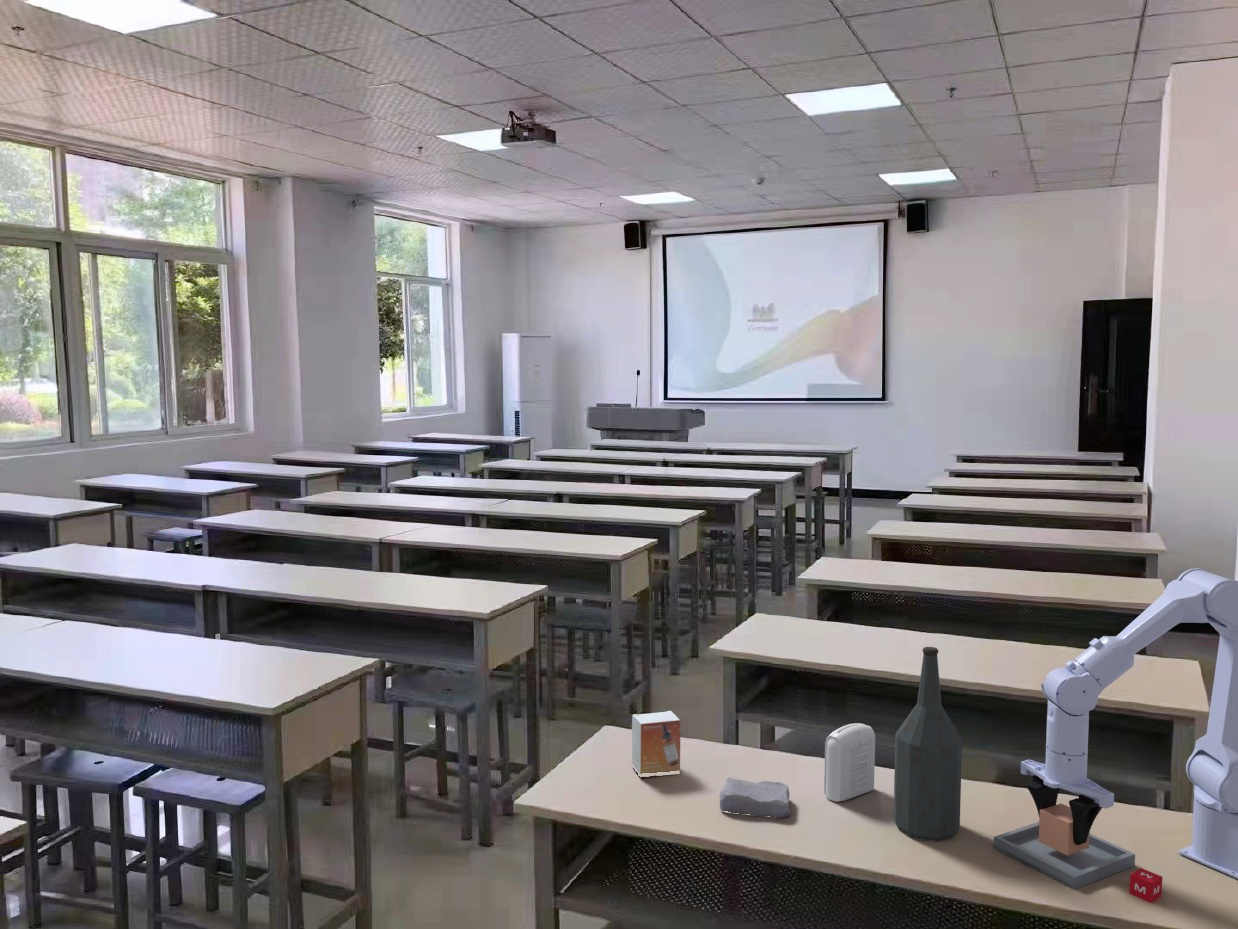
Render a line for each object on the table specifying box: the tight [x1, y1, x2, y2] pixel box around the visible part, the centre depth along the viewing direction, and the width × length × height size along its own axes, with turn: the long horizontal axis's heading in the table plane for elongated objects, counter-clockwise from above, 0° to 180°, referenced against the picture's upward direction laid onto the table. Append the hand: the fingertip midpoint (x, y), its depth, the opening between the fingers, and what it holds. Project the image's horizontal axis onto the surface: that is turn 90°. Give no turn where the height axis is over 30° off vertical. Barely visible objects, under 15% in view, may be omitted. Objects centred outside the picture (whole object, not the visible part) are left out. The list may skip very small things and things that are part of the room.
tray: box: [993, 821, 1136, 890], centre depth 145 cm, size 14×14×2 cm
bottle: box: [893, 646, 963, 842], centre depth 153 cm, size 10×10×30 cm
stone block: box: [719, 777, 790, 819], centre depth 163 cm, size 12×5×10 cm
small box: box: [631, 710, 682, 774], centre depth 177 cm, size 8×6×10 cm
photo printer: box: [823, 722, 876, 803], centre depth 167 cm, size 10×4×12 cm, turn 126°
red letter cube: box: [1128, 867, 1163, 904], centre depth 134 cm, size 3×3×3 cm
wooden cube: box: [1038, 803, 1091, 856], centre depth 145 cm, size 5×5×5 cm
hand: (1063, 835), depth 145 cm, fingers closed on wooden cube, 5 cm apart
